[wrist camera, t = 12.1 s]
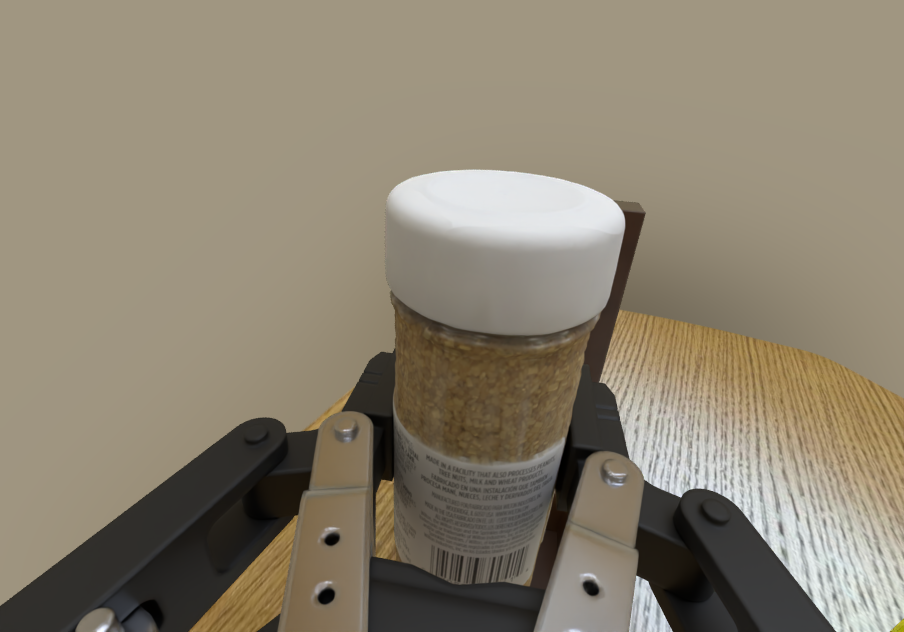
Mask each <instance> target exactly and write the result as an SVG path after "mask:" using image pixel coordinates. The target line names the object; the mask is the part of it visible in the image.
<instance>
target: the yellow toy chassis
mask: <svg viewBox="0 0 904 632" xmlns="http://www.w3.org/2000/svg"><path fill="white" fill-rule="evenodd" d="M890 632H904V619H903V620H902V621H901V622H900V623H898V624H897V625H896V626H895V627H894V628H893V629H892V630H891V631H890Z"/></svg>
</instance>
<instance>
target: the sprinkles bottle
mask: <svg viewBox="0 0 904 632" xmlns="http://www.w3.org/2000/svg"><path fill="white" fill-rule="evenodd" d="M385 215H386V216H385V269H386V279H387V282H388V285H389V287H390V289H391V292H390V297H391V303H392V305H393V307H394V309H395V331H396V338H395V349H396V362H395V388H394V394H393V427H394V535H395V542H396V547H397V548H396V552H397V554H396V561H399V562H404V563H409V564H413V565H415V566H417V567H419V568H421V569H423V570H425V571H427V572H429V573H431V574H433V575H435V576H437V577H440V578H442V579H444V580H446V581H448V582H450V583H452V584H456V585H464V584H478V583H492V582H508V583H513V584H519V585H524V586H530V583H531V580H532V575H533V571H534V567H535V563H536V558H537V554H538V551H539V547H540V544H541V542H542V540H543V537H544V533H545V529H546V525H547V521H548V518H549V514H550V510H551V506H552V501H553V497H554V493H555V488H556V484H557V480H558V474H559V468H560V464H561V459H562V456H563V452H564V447H565V444H566V441H567V434H568V429H569V425H570V422H571V419H572V408H573V404H574V401H575V398H576V394H577V389H578V386H579V381H580V377H581V368H582V366H583V363H584V351H585V350H586V348H587V342H588V340H589V337H590V331H592V330H593V329H594V327H595V325H596V323H597V321H598V320H599V318H600V314H601V311H602V310H603V309H604V308H605V306H606V304H607V301H608V299H609V297H610V292H611V288H612V284H613V280H614V276H615V272H616V268H617V263H618V258H619V254H620V249H621V244H622V240H623V235H624V230H625V218H624V214H623V212H622V210H621V209H620V207H619V206H618V205H617V204H616V203H615V202H614V201H613V200H612V199H610V198H609V197H607V196H605V195H604V194H602V193H600V192H597V191H595V190H593V189H591V188H588V187H585V186H583V185H580V184H576V183H572V182H569V181H566V180H562V179H557V178H552V177H548V176H541V175H535V174H528V173H521V172H510V171H497V170H455V171H442V172H435V173H430V174H425V175H421V176H417V177H413V178H410V179H408V180H406V181H404V182H402V183H400V184H398V185H397V186H396V187H395V188H394V189H393V190H392V191H391V192H390V194H389V196H388V198H387V202H386V212H385Z"/></svg>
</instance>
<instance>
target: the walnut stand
mask: <svg viewBox="0 0 904 632" xmlns="http://www.w3.org/2000/svg"><path fill="white" fill-rule="evenodd" d="M613 201H614V200H613ZM614 202H615V203H616V204H617V205H618V206H619V207H620V209H621V210H622V212H623V214H624V218H625V230H624V235H623V240H622V244H621V249H620V254H619V258H618V263H617V268H616V272H615V276H614V280H613V284H612V288H611V292H610V297H609V299H608V301H607V304H606V306H605V308H604V309H603V310H602V311H601V314H600V318H599V320H598V321H597V323H596V325H595V327H594V329H593V330H592V331H590V337H589V340H588V342H587V348H586V350H585V351H584V363H583V364H588V365H589V367H590V373H591V379H592V382H597V383H599V381H600V377H601V374H602V370H603V366H604V363H605V359H606V356H607V352H608V348H609V345H610V341H611V337H612V334H613V330H614V326H615V323H616V319H617V316H618V312H619V308H620V305H621V301H622V297H623V294H624V290H625V287H626V283H627V279H628V275H629V272H630V268H631V265H632V261H633V257H634V254H635V250H636V246H637V243H638V239H639V236H640V232H641V228H642V225H643V221H644V217H645V214H646V213H645V211H644V210H643V208H642V207H641V205H640V204H639V203H635V202H624V201H614ZM567 520H568V514H567V512H565V511H559V510H556V491H555V493H554V497H553V501H552V506H551V510H550V514H549V518H548V521H547V525H546V529H545V533H544V537H543V540H542V542H541V544H540V547H539V551H538V554H537V558H536V563H535V567H534V571H533V575H532V580H531V583H530V586H529V587H534V588H539V589H545V590H546V589H547V586H548V582H549V579H550V576H551V572H552V569H553V566H554V563H555V559H556V556H557V553H558V549H559V546H560V543H561V539H562V536H563V533H564V530H565V526H566V523H567Z"/></svg>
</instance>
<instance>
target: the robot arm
mask: <svg viewBox="0 0 904 632" xmlns="http://www.w3.org/2000/svg"><path fill="white" fill-rule="evenodd" d="M395 362H396V349H394V351H393V353H386V352H380V353H379V354H378V355H376V356H375V357H374V358H372V359H371V360H370V361H369V363H368V364H367V366H366V368H365V370H364V373H362V375H361V377H360V379H359V382H358V383H357V384H356V386H355V388H354V390H353V392H352V393H351V395H350V397H349V399H348V401H347V402H346V404H345V406H344V408H343V410H342V412H340V413H337V414H334V415H332V416H330V417H328V418H327V419H326V420H324V421H323V423H322V424H321V425H320V427H319V429H316V430H311V431H302V432H293V433H292V432H291V433H286V429H285V426H284V425H283V424H282V423H281V422H280V421H278V420H276V419H273V418H256V419H252V420H249V421H246V422H244V423H242V424H240V425H239V426H237V427H236V428H235V429H233V430H232V431H231V432H229V433H228V434H227V435H225V436H224V437H223V438H221V439H220V440H219V441H217V442H216V443H215V444H213V445H212V446H211V447H209V448H208V449H207V450H205V451H204V452H203V453H201V454H200V455H199V456H198V457H196V458H195V459H194V460H192V461H191V462H190V463H188V464H187V465H186V466H184V467H183V468H182V469H181V470H179V471H178V472H176V473H175V474H174V475H172V476H171V477H170V478H169V479H167V480H166V481H165V482H163V483H162V484H161V485H159V486H158V487H157V488H156V489H154V490H153V491H151V492H150V493H149V494H148V495H146V496H145V497H143V498H142V499H141V500H139V501H138V502H137V503H136V504H134V505H133V506H132V507H130V508H129V509H128V510H127V511H125V512H124V513H122V514H121V515H120V516H118V517H117V518H116V519H115V520H113V521H112V522H111V523H109V524H108V525H107V526H105V527H104V528H103V529H101V530H100V531H99V532H97V533H96V534H95V535H93V536H92V537H91V538H89V539H88V540H87V541H85V542H84V543H83V544H82V545H80V546H79V547H78V548H76V549H75V550H74V551H72V552H71V553H70V554H68V555H67V556H66V557H64V558H63V559H62V560H60V561H59V562H58V563H56V564H55V565H54V566H52V568H50V569H49V570H47V571H46V572H45V573H43V574H42V575H41V576H39V577H38V578H37V579H35V580H34V581H33V582H31V583H30V584H29V585H27V586H26V587H25V588H23V589H22V590H21V591H20V592H18V593H17V594H16V595H14V596H13V597H12V598H10V599H9V600H8V601H7V602H5V603H4V604H2V605H1V606H0V632H188V631H189V630H190V629H191V628H192V627H193V626H194V625H195V624H196V623H197V622H198V621H199V620H200V618H201V617H202V616H203V615H204V614H205V613H206V612H207V611H208V610H209V609H210V608H211V607H212V605H213V604H214V603H215V602H216V601H217V600H218V599H219V598H220V597H221V596H222V595H223V594H224V592H225V591H226V590H227V589H228V588H229V587H230V586H231V585H232V584H233V583H234V582H235V581H236V579H237V578H238V577H239V576H240V575H241V574H242V573H243V572H244V571H245V570H246V569H247V568H248V566H249V565H250V564H251V563H252V562H253V561H254V560H255V559H256V558H257V557H258V556H259V555H260V553H261V552H262V551H263V550H264V549H265V548H266V547H267V546H268V545H269V544H270V543H271V542H272V541H273V539H274V538H275V537H276V536H277V535H278V534H279V533H280V532H281V531H282V530H283V529H284V528H285V526H286V525H287V524H288V523H289V522H290V521H291V520H292V519H293V517H294V516H295V515H298V519H297V525H296V531H295V536H294V542H293V548H292V553H291V559H290V564H289V570H288V576H287V581H286V587H285V593H284V598H283V604H282V609H281V613H280V614H279V615H278V616H276V617H275V618H274V619H273V620H271V621H270V622H269V623H267V624H266V625H265V626H263V627H262V628H261V629H260V630H258V631H257V632H629V626H630V618H631V611H632V603H633V596H634V588H635V581H636V575H637V576H639V577H641V578H643V579H645V580H647V581H649V585H650V587H651V589H652V591H653V593H654V595H655V597H656V599H657V601H658V603H659V605H660V607H661V609H662V611H663V613H664V615H665V617H666V619H667V621H668V623H669V625H670V627H671V629H672V631H673V632H836V631H835V630H834V628H833V627H832V626H831V625H830V623H829V622H828V621H827V619H826V618H825V617H824V616H823V614H822V613H821V612H820V611H819V609H818V608H817V607H816V605H815V604H814V603H813V602H812V600H811V599H810V598H809V597H808V595H807V594H806V593H805V591H804V590H803V589H802V588H801V586H800V585H799V584H798V582H797V581H796V580H795V579H794V577H793V576H792V575H791V574H790V572H789V571H788V570H787V568H786V567H785V566H784V565H783V563H782V562H781V561H780V560H779V558H778V557H777V556H776V554H775V553H774V552H773V551H772V549H771V548H770V547H769V546H768V544H767V543H766V542H765V540H764V539H763V538H762V537H761V535H760V534H759V533H758V532H757V530H756V529H755V528H754V526H753V525H752V524H751V523H750V521H749V520H748V519H747V518H746V516H745V515H744V514H743V512H742V511H741V510H740V509H739V508H738V507H737V506H736V505H735V504H734V503H733V502H731V501H730V500H729V499H727V498H726V497H724V496H722V495H720V494H718V493H716V492H713V491H710V490H706V489H691V490H689V491H687V492H685V493H684V494H683V496H682V497H681V498H680V497H678V496H676V495H673V494H671V493H668V492H666V491H664V490H661V489H659V488H657V487H655V486H653V485H651V484H650V483H648V482H647V481H645V480H644V477H643V474H642V472H641V471H640V469H639V468H638V467H637V465H636V464H635V463H633V462H632V461H631V460H630V459H629V455H628V451H627V447H626V442H625V438H624V434H623V429H622V425H621V421H620V416H619V412H618V411H617V409H618V408H617V404H616V399H615V395H614V394H613V393H612V392H611V391H610V389H609V388H608V387H607V386H606V384H604V383H597V382H592V379H591V373H590V367H589V365H588V364H583V366H582V368H581V377H580V381H579V386H578V389H577V394H576V398H575V401H574V404H573V408H572V419H571V422H570V425H569V429H568V434H567V441H566V444H565V447H564V452H563V456H562V459H561V464H560V468H559V474H558V480H557V484H556V488H555V491H556V510H559V511H565V512H567V514H568V520H567V523H566V526H565V530H564V533H563V536H562V539H561V543H560V546H559V549H558V553H557V556H556V559H555V563H554V566H553V569H552V572H551V576H550V579H549V582H548V586H547V589H546V590H545V589H539V588H534V587H529V586H524V585H519V584H513V583H508V582H492V583H478V584H464V585H456V584H452V583H450V582H448V581H446V580H444V579H442V578H440V577H437V576H435V575H433V574H431V573H429V572H427V571H425V570H423V569H421V568H419V567H417V566H415V565H413V564H409V563H404V562H399V561H393V560H388V559H383V558H378V557H375V549H376V492H377V490H378V487H379V485H380V482H381V479H382V480H388V481H392V480H393V477H394V427H393V394H394V388H395Z"/></svg>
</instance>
